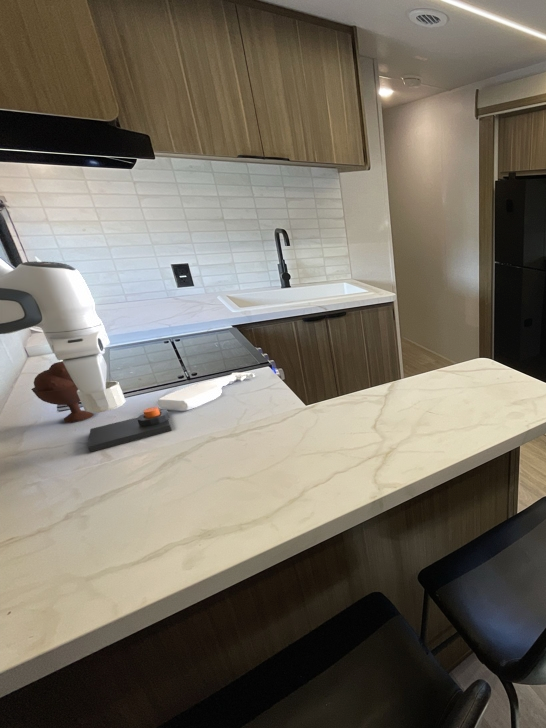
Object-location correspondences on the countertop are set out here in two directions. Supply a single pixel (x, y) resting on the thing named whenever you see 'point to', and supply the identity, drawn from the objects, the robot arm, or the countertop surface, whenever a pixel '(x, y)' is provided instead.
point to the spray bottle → (198, 393)
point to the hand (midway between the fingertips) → (104, 400)
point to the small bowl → (112, 394)
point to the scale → (128, 431)
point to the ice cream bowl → (60, 391)
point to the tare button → (151, 412)
